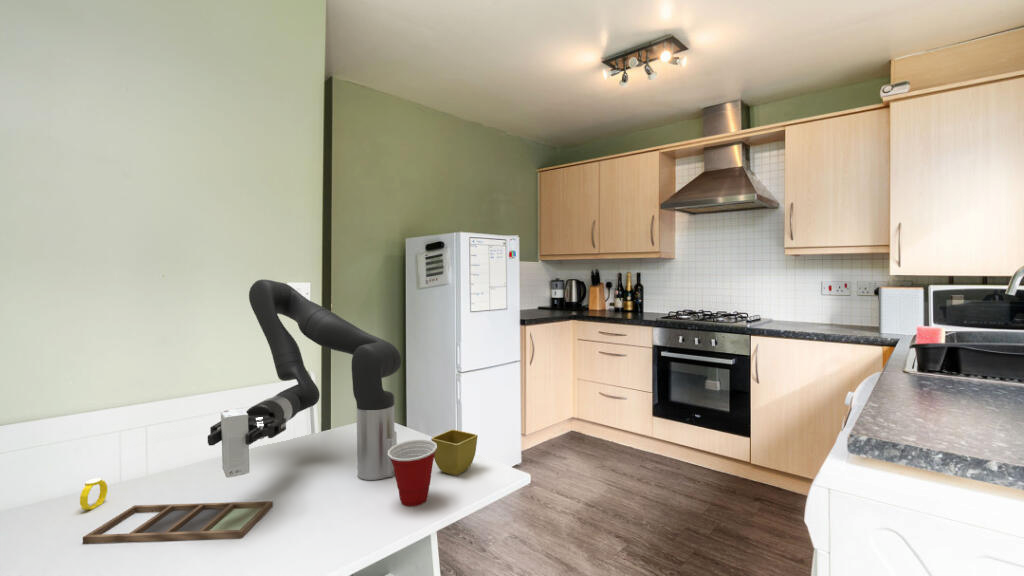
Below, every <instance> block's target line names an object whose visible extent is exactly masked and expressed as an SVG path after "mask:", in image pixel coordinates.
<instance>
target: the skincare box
mask: <svg viewBox="0 0 1024 576" xmlns="http://www.w3.org/2000/svg"><path fill="white" fill-rule="evenodd" d="M246 412H247V411H245V409H244V408H235V409H229V410H223V411H222V410H221V412H220V421H221V435H222V441H221V454H222V455H221V459H222V460H221V462H222V470H223V474H224V476H225V477H226V478H227V479H228V478H234V477H240V476H244V475H248V474H250V445H246V441H245V436H246V434H247V433H248V414H247V413H246Z"/></svg>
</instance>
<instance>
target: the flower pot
mask: <svg viewBox="0 0 1024 576" xmlns="http://www.w3.org/2000/svg"><path fill="white" fill-rule="evenodd" d="M430 441H433V442H435V443H436V444H437V449H436V451H435V455H434V462H435V464H436V466H437V467H438V469H439V471H440V472H441V473H445V474H448V475H451V476H459V475H460V474H462V473H464V472H465V471H468V469H470V467H471V465H472V463H473V462H474V458H475V455H476V451H477V444H478V434H475V433H472V432H468V431H467V432H466V431H462V430H459V429H458V430H457V429H450V430H447V431H445V432H443V433H440V434H437V435H435V436H433V437H431V440H430Z"/></svg>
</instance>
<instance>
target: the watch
mask: <svg viewBox="0 0 1024 576" xmlns="http://www.w3.org/2000/svg"><path fill="white" fill-rule="evenodd" d="M97 485H98V486H99V495H98V498H97V499H96V501H95V503H93V504H91V505H90V504H89V502H88V501H89V494H90V491H91V490H92V488H93V487H94V486H97ZM107 494H108V484H107V482H106V481H105V480H103V478H102V477H96V478H91V479H88V480H86V481H85V482H84V488H83V489H82V491H81V493H80V497H79V505H80V507H81V508H82V509H83V510H84V511H92V510H95V509H96V508H97V507H99V506H101V505H102V504H104V502H105V500H106V497H107Z"/></svg>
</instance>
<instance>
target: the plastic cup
mask: <svg viewBox="0 0 1024 576" xmlns="http://www.w3.org/2000/svg"><path fill="white" fill-rule="evenodd" d="M436 449H437V444H436V443H435V442H433V441H432V440H429V439H426V438H425V439H423V438H422V439H412V440H406V441H402V442H399V443H397V445H395V446H393V447H391V448H390V449H389V450H388V457H390V459H391V462H392V464H393V467H394V477H395V482H396V486H397V489H398V495H399V500H400V503H401V505H403V506H406V507H417V506H420V505H423V504H424V503H426V502H427V500H428V497H429V490H430V485H431V478H432V471H433V465H434V462H435V459H434V455H435V451H436Z"/></svg>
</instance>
